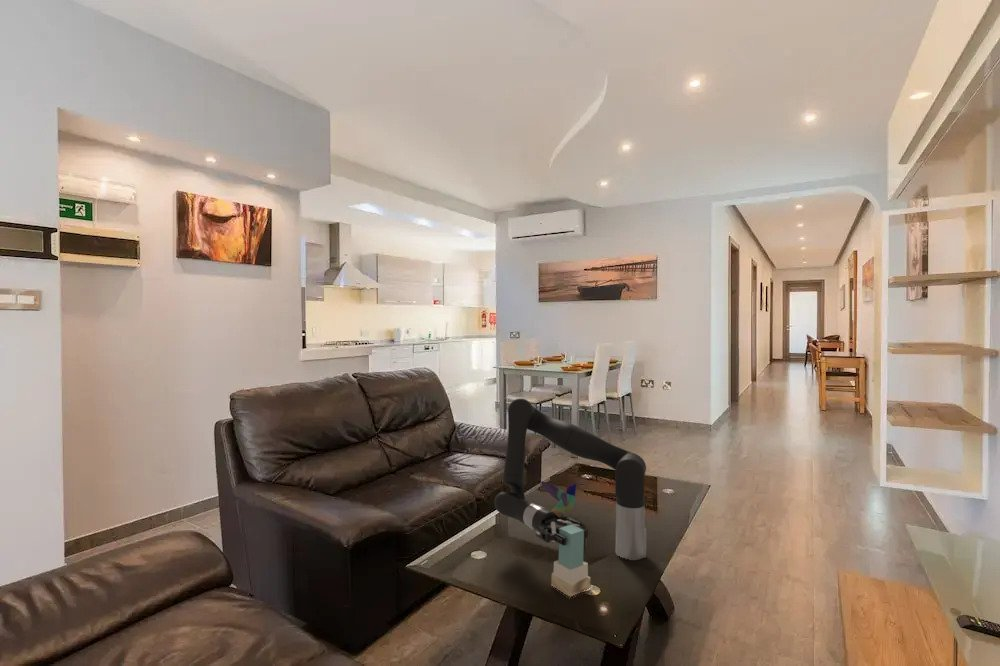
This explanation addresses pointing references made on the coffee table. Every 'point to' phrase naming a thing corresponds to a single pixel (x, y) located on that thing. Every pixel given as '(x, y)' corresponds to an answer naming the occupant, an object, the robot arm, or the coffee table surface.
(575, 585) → the tower base block
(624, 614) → the coffee table surface
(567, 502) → the decorative sculpture
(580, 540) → the teal block
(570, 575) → the tower top block
